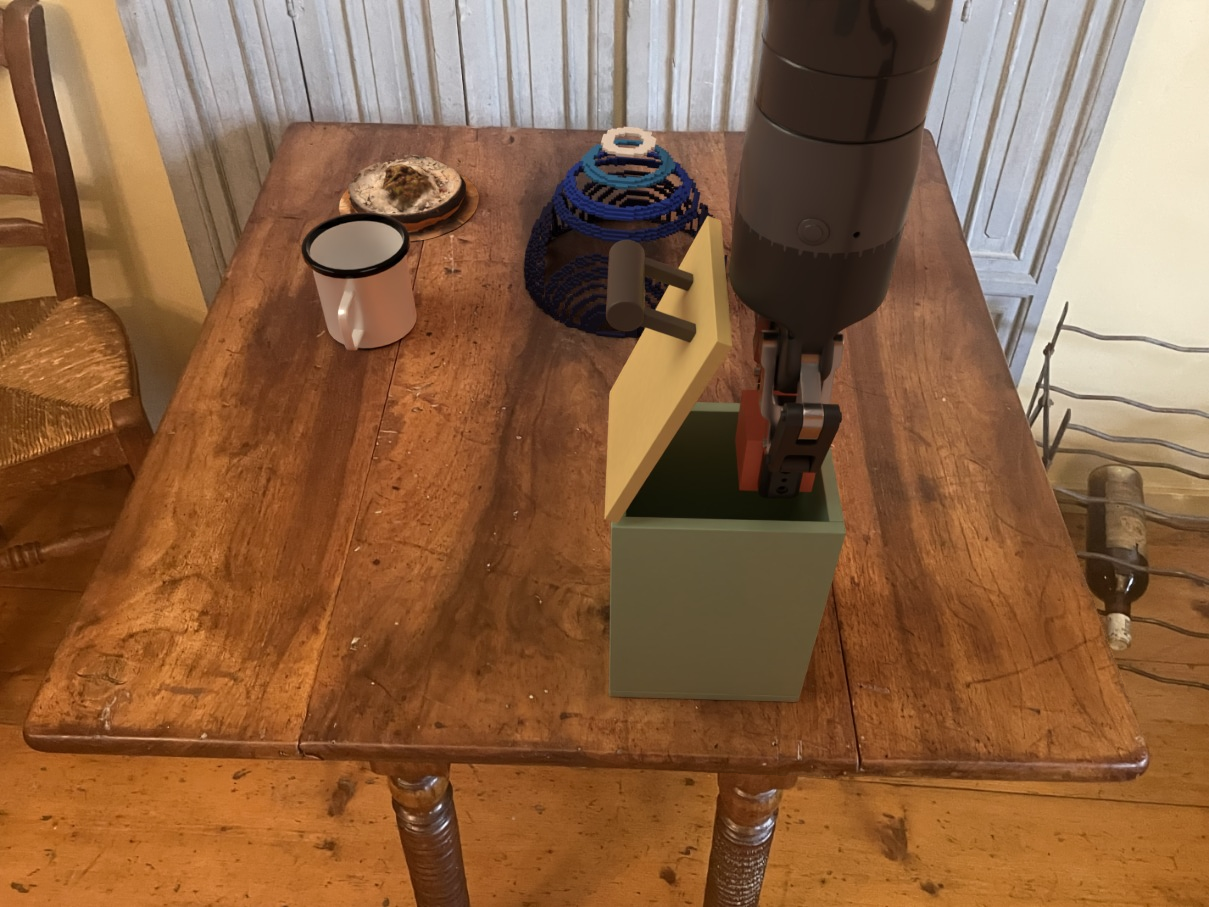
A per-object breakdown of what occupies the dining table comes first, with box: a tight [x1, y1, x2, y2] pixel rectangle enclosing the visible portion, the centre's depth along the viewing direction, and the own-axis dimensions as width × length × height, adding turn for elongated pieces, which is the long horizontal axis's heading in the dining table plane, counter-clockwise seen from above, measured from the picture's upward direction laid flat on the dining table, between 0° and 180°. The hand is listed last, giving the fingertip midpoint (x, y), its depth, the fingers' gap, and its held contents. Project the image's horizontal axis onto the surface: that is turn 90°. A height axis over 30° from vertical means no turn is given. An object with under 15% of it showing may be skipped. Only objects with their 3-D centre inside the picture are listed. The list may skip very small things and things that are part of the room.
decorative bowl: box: [523, 126, 728, 339], centre depth 93 cm, size 20×20×14 cm
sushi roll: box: [338, 153, 480, 242], centre depth 106 cm, size 15×15×4 cm
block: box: [735, 389, 815, 492], centre depth 55 cm, size 4×4×4 cm
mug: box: [300, 212, 418, 351], centre depth 89 cm, size 12×10×9 cm
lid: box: [603, 216, 733, 523], centre depth 51 cm, size 13×10×5 cm
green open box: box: [608, 401, 847, 703], centre depth 63 cm, size 13×10×18 cm
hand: (773, 462), depth 56 cm, fingers closed on block, 4 cm apart
